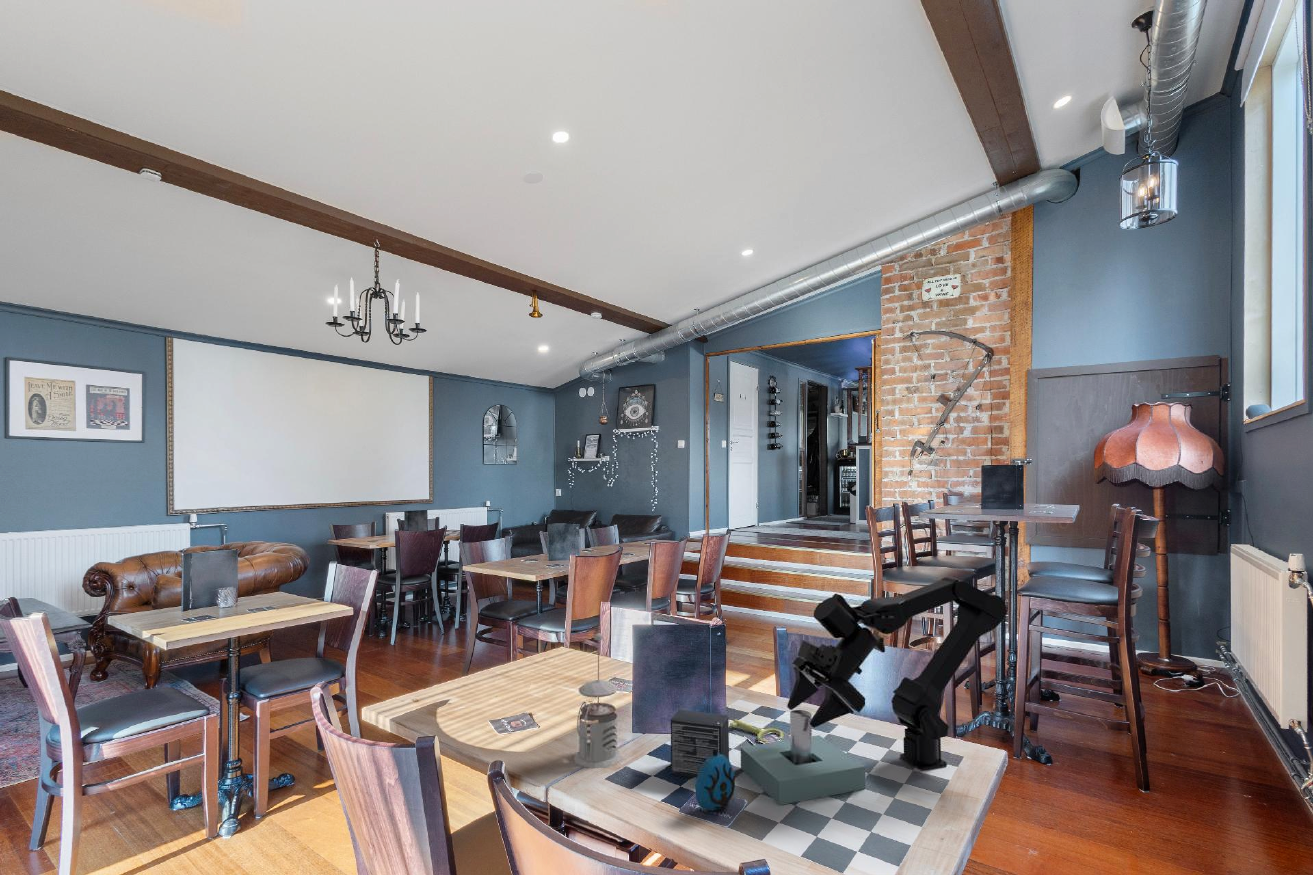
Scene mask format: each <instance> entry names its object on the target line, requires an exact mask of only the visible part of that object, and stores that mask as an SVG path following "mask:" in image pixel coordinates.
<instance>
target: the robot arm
mask: <svg viewBox="0 0 1313 875" xmlns="http://www.w3.org/2000/svg"><path fill="white" fill-rule="evenodd" d="M951 602H953V603H955V604H956V605H958V606H957V609H956V610H957V614H956V622H955V624H954V625H953V627H952V628H951V630H950V631H949V633H948V634H947V636H946V637H945V639H944V640H943V641H942V643H941V645H940V646H939V647H938V649H937V650H936V651H935V653H934V654H933V656H932V657H931V659H930V660H929V662H928V663H927V665H926V666H925V667H924V669H923V670H922V671H921V673H920V675H919V676H917V677H915V678H914V679H911V678H909V677H907V676H905V677H903V678H902V679H901V682H900V683H899V686H898V687H897V688H896V689H894V690H893V692H892V693H893V697H892V699H891V704H892V708H891V709H892V710H893V713H894V714H895V716H897V719H898V722H899V724H901V725H903V726H905V727H907V728H904V737H903V753H899V757H900V759H903V760H904V761H906V762H907V763H909V764H911V765H912V766H914V767H916V768H918V769H919V770H922V771H923V770H930V769H935V768H940V767H945V766H948V762H947V761H945V760H944V759H942V749H941V748H942V745H941V742H942V741H941V739H942V738H946V737H947V734H948V733H949V732H948V731H949V727H950V726H949V725H948V724H947V723H946V722H945V720H943V719H942V718H941V716H939V714H940V711H941V708H942V695H943V694H942V693H943V691H944V690H945V688H946V687H947V686H948V684H949V683H950V681H951V680H952V678H953V677H954V675H955V673H956V672H957V671H958V670H959V668H960V666H961V665H962V664H963V662H964V661H965V659H966V658H967V656H968V655H969V653H970V651H971V650H972V649H973V647H974V646H975V645H976V643H977V642H978V640H979V639H980V638H981V637H982V636H985V635H986V634H988V633H989V632H992V631H994V630H995V629H996V628H997V627H999V625H1000V624H1001V623H1002V622H1003V620H1005V618H1006V616H1007V614H1008V610H1007V605H1006V602H1005V601H1004V599H1003V597H1002V596H999V595H996V594H992V593H988V592H986V591H983V590H981V589H979V588H978V587H975V586H973V585H971V584H970V583H968V582H966V581H965V580H963V579H961V578H956V577H950V576H946V577H943V578H941V579H940V580H937V581H935V582H932V583H930V584H926V585H924V586H921V587H919V588H917V589H915V590H914V589H913V590H911V591H909V592H906V593H904V594H900V595H896V596H892V597H891V596H886V597H881V596H880V597H875V598H870V599H867V600H865V601H863V602H862V603H861V605H857V606H850V604H849V603H848V602H847V599H845V598H844V596H843V595H841V594H839V593H834V594H833V595H832V597H828V598H825V600H823V601H822V602H819V603H818V604H817V606H816V607H815V608H814V611H813V618H814V619H815V620H816V621H817V622H818V623H819V624H820V625H821V626H822V627H823V629H825V630H826V631H827V632H828V634H829V635H831V637H833V639H840V640H839V641H838V642H837V644H836V645H835V646H834V645H831V644H830V645H826V644H823V643H822V644H821V645H820V646H818V645H816V644H813V643H810V642H808V641H807V640H802V641H801V643H800V644H801V645H800V647H799V650H798V652H797V657H796V658H795V660H794V661H793V662H792V663H791V664H792V665H793V671H794V674H795V682H794V686H793V688H792V691H791V695H790V697H789V699H788V702H787V705H786V707H787V708H788V709H789V710H790V711H793V710H795V708H797V707H799V706H800V705H801V704H802V703H804V702H805V701H806V700H808V699H809V698H810V697H812V696H813V695H814V694H816V693H818V691H820V690H819V687H821V686H825V687H824V690H825V692H824V694H825V695H824V699H823V701H822V702H821V704H820V706H819V707H818V709H817V710H816V711H815V713H814V714H813V716H812V720H811V722H810V725H811V726H812V729H814V728H817V727H819V726H821V725H823V724H826V723H828V722H830V721H833V720H836V719H837V718H840V717H842V716H845V715H846V716H847V715H848V714H851V715H853V714H854V713H855V712H856V713H858V714H860V713H861V712H862V710H863V709H864V708H865V706H866V697H864V695H862V693H861V692H860V691H859V690H858V689H857V688H856V687H855V686H854V684H852V683H851V682H850V680H851V679H852V677H853V676H854V675H855V674H857V675H858V676H860V675H861V674H862V673H863V670H862V668H861V666H862V665H863V663H864V662H865V660H866V659H867V658H868V657H869V656H870V654H871V653H872V652H873V650H876V651H878V652H881V653H885V652H886V647H885V642H884V640H885V639H884V637H882V636H879V635H875V634H874V633H873V632H872V631H871V630H874V631H876V632H879V633H881V634H883V635H890V634H893V633H895V632H897V631H898V630H900V629H901V628H903V627H904V626H906V624H907V622H908V621H909V620H910V619H911V618H913V617H915V616H918V615H920V614H923V613H925V612H927V611H930V610H934V609H935V608H938V607H940V606H943V605H946V604H948V603H951ZM859 623H860V624H862V625H863V626H865V627H862V626H861V625H860V624H859ZM870 629H871V630H870ZM854 711H855V712H854Z"/></svg>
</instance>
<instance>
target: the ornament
mask: <svg viewBox="0 0 1313 875" xmlns="http://www.w3.org/2000/svg"><path fill="white" fill-rule="evenodd" d="M731 763H732V762H731V761H730V759H729V760H728V759H727V758H726V757H725V756H724V755H722V754H718V751H717V750H716V749H714V750H713V755H711V756H710V757H708V758H707V759H706V760H705V762H704V763H703V765H702V766H701V768H700V770H699V773H698V776H697V778H696V780H695V789H694V791H695V792H694V793H695V799H696V802H698V805H699V807H700V808H702V809H704V810H705V811H716V810H717V809H718V811H720V810H723V809H725V808H726V807H727V806H728V804H729V802H731V801H730V800H732V798H733V795H734V794H735V787H736V775H735V772H734V769H733V766H732V764H731Z"/></svg>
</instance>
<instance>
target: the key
mask: <svg viewBox="0 0 1313 875" xmlns="http://www.w3.org/2000/svg"><path fill="white" fill-rule="evenodd" d="M729 726H731V727H733V728H736V727H739V728H741V729H743V730H746V731H748V732H750V733H752V734H754V733H755V734H758V736H756V741H757V740H759V741H762V742H768V741H769V740H767V739H763V737H762V738H760V737H761V736H762V735H763V734H766V733H769V732H775V733H778V734H780V736H778V738H783V736H784V733H783V731H781V730H780V729H777V728H766V729H764V730H762V729H761V727H754V726H752V725H750V724H747V723H746V722H743V721H741V720H738V719H736V718H735V719H733V721H732V722H731V723H729ZM755 734H754V735H755ZM778 734H777V735H778ZM784 737H785V736H784Z"/></svg>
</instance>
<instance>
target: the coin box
mask: <svg viewBox="0 0 1313 875" xmlns="http://www.w3.org/2000/svg"><path fill="white" fill-rule="evenodd" d="M812 760H814V762H813V761H812V763H808V764H802V765H796V766H795V765H794V764H793V763H792V762H791V749H790V739H786V740H782V741H778V742H772V743H766V744H761V743H758V744H753V745H747V746H741V747H740V769H741V771H743V772H744V773H745V774H746V775H747V776H748V777H749V778H751V779H752V781H754V782H755V783H756V784H757V785H758V786H759V787H760V788H761V789H762V790H763V791H764V792H765V793H766V794H767V795H768V796H769V797H770V798H772V800H773V801H775V802H776V804H778V805H779V806H784V805H787V804H792V803H797V802H803V801H807V800H808V801H809V800H814V799H819V798H823V797H824V798H825V797H829V796H833V795H834V796H836V795H839V794H844V793H850V792H855V791H860V790H866V788H867V786H866V785H867V784H866V765H864V764H862V763H861V762H860V761H858V760H857V759H855V758H854V757H853V756H851V755H849V754H848V753H846V752H845V751H843V750H842V749H841V748H839V747H837V746H836V745H834V744H833V743H831V742H830V741H829V740H828V739H825V738H824V737H822V736H821V735H819V734H817V735H812Z"/></svg>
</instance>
